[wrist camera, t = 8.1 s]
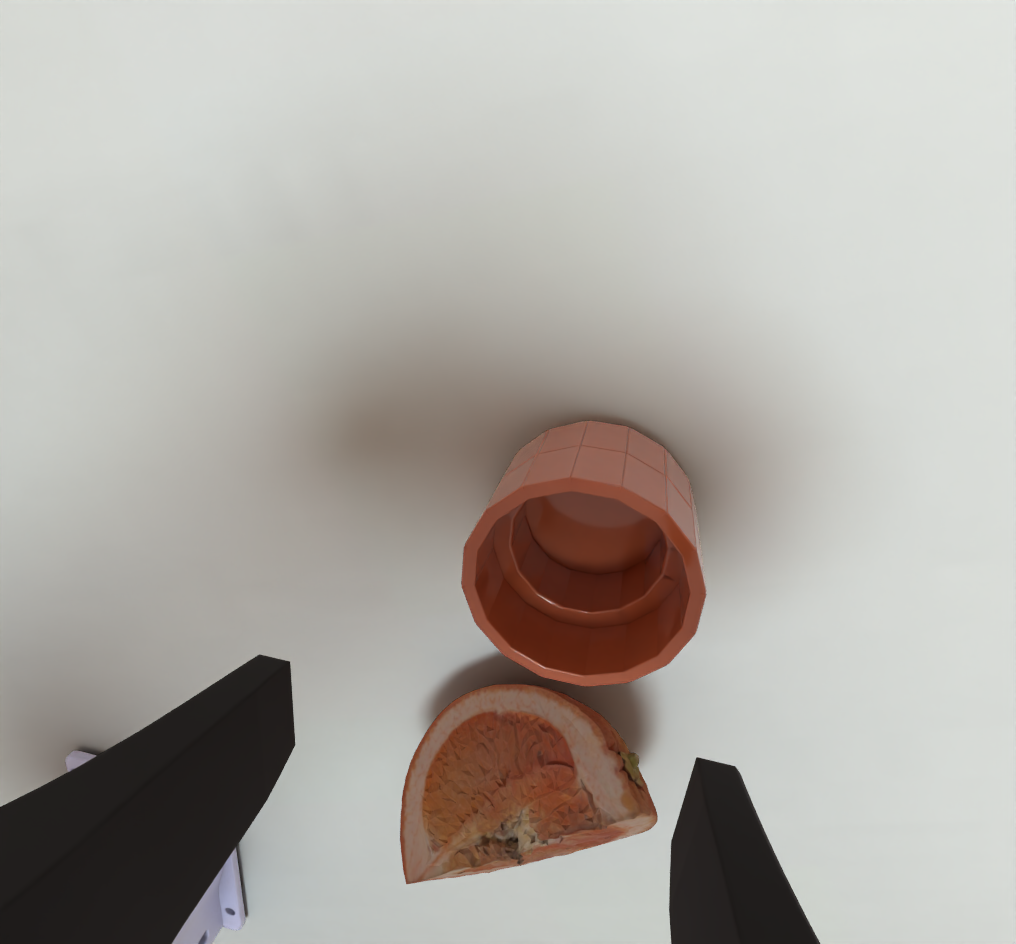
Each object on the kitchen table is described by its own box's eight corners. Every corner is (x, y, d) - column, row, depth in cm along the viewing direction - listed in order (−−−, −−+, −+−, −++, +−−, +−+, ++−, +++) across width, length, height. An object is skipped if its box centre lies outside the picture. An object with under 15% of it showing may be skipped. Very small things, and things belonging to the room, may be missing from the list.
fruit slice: (597, 616, 20) (580, 736, 16) (699, 765, 22) (710, 913, 17) (401, 697, 23) (340, 816, 19) (501, 822, 25) (467, 959, 20)
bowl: (673, 603, 19) (676, 707, 15) (495, 568, 20) (455, 658, 16) (713, 432, 17) (731, 504, 13) (511, 401, 18) (469, 459, 14)
